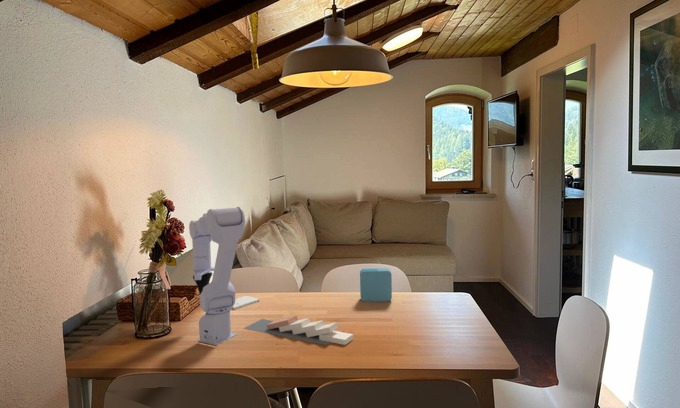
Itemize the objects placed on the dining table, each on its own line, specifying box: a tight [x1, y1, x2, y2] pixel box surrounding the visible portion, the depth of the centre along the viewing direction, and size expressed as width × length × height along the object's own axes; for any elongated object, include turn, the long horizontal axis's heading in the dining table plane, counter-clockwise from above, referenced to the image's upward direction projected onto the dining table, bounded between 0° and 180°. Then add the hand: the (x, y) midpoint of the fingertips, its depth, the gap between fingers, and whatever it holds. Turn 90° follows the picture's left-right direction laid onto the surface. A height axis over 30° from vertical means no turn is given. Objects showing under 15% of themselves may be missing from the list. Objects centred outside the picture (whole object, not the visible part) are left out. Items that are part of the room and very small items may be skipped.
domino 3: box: [292, 319, 325, 335], centre depth 149 cm, size 5×2×9 cm
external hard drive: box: [232, 295, 260, 310], centre depth 184 cm, size 2×8×12 cm
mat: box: [243, 318, 332, 346], centre depth 152 cm, size 10×32×1 cm, turn 61°
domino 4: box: [306, 321, 340, 337], centre depth 147 cm, size 5×2×9 cm
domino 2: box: [279, 317, 312, 332], centre depth 152 cm, size 5×2×9 cm
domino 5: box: [319, 330, 354, 346], centre depth 144 cm, size 5×2×9 cm
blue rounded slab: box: [359, 268, 393, 303], centre depth 184 cm, size 12×4×12 cm, turn 89°
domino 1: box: [267, 315, 299, 330], centre depth 154 cm, size 5×2×9 cm
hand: (203, 294), depth 160 cm, fingers closed
